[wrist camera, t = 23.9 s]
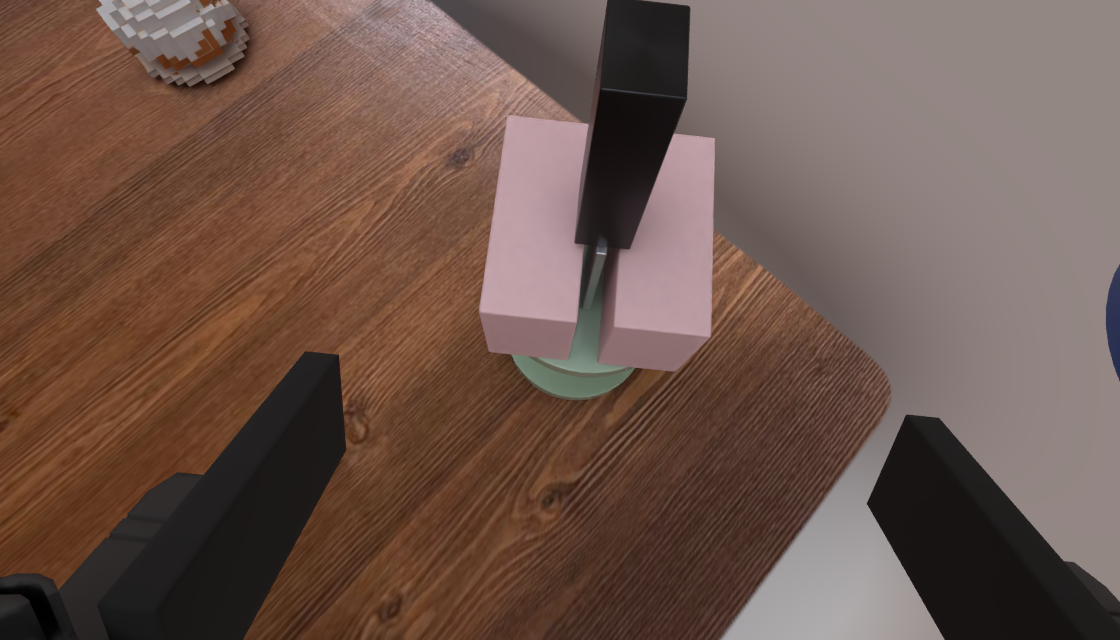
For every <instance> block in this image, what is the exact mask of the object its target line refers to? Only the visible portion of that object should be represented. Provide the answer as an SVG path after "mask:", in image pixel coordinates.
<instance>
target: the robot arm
mask: <svg viewBox="0 0 1120 640" xmlns="http://www.w3.org/2000/svg"><path fill="white" fill-rule="evenodd" d="M345 451H346V443H345V429H344V416H343V403H342V390H341V377H340V364H339V355H335V354H325V353H316V352H306V351H305V352H304V354H303V355H302V356H301V357H300V358H299V360H298V361H297V362H296V363H295V364H294V366H293V367H292V368H291V369H290V371H289V372H288V373H287V374H286V375H285V377H284V378H283V379H282V380H281V382H280V383H279V384H278V385H277V386H276V388H275V389H274V390H273V391H272V392H271V394H270V395H269V396H268V397H267V399H266V400H265V401H264V402H263V403H262V405H261V406H260V407H259V408H258V410H257V411H256V412H255V413H254V414H253V416H252V417H251V418H250V419H249V420H248V422H247V423H246V424H245V425H244V427H243V428H242V429H241V430H240V431H239V433H238V434H237V435H236V436H235V437H234V439H233V440H232V441H231V442H230V444H229V445H228V446H227V447H226V448H225V450H224V451H223V452H222V453H221V455H220V456H219V457H218V458H217V459H216V461H215V462H214V463H213V464H212V465H211V467H210V468H209V469H208V470H207V472H206V473H205V474H204V475H198V474H189V473H179V472H177V473H176V474H174V475H173V476H171V477H170V478H168V479H166V480H165V481H163V482H162V483H160V484H159V485H157V486H155V487H154V488H152V489H151V490H149V491H148V492H147V493H146V494H145V495H144V496H143V497H142V499H141V500H140V501H139V502H138V503H137V504H136V505H135V506H134V507H133V508H132V510H131V511H130V512H129V513H128V516H127V518H126V519H124V518H123V519H122V521H121V522H120V523H119V524H118V525H117V526H116V527H115V528H114V529H113V530H112V532H111V533H110V537H109V538H105V539H104V540H103V541H102V543H101V544H100V545H99V546H98V547H97V548H96V549H95V550H94V551H93V552H92V554H91V555H90V556H89V557H88V558H87V559H86V560H85V561H84V562H83V563H82V565H81V566H80V567H79V568H78V569H77V570H76V571H75V572H74V573H73V574H72V576H71V577H70V578H69V579H68V580H67V581H66V582H65V583H64V584H63V585H62V587H61V588H60V589H59V590H58V589H57V587H56V585H55V583H54V581H53V580H52V579H50V578H48V577H45V576H43V575H41V574H14V575H10V576H5V577H1V578H0V640H243V639H244V637H245V635H246V633H247V631H248V629H249V628H250V626H251V624H252V622H253V620H254V618H255V617H256V615H257V613H258V611H259V609H260V607H261V605H262V604H263V602H264V600H265V598H266V596H267V594H268V593H269V591H270V589H271V587H272V585H273V583H274V582H275V580H276V578H277V576H278V574H279V572H280V571H281V569H282V567H283V565H284V563H285V561H286V560H287V558H288V556H289V554H290V552H291V550H292V549H293V547H294V545H295V543H296V541H297V539H298V537H299V536H300V534H301V532H302V530H303V528H304V526H305V525H306V523H307V521H308V519H309V517H310V515H311V514H312V512H313V510H314V508H315V506H316V504H317V503H318V501H319V499H320V497H321V495H322V493H323V492H324V490H325V488H326V486H327V484H328V482H329V481H330V479H331V477H332V475H333V473H334V471H335V469H336V468H337V466H338V464H339V462H340V460H341V458H342V457H343V455H344V453H345ZM867 505H868V507H869V508H870V510H871V512H872V514H873V515H874V517H875V519H876V521H877V522H878V524H879V526H880V527H881V529H882V531H883V533H884V534H885V536H886V538H887V540H888V541H889V543H890V545H891V546H892V548H893V550H894V552H895V554H896V555H897V557H898V559H899V560H900V562H901V564H902V566H903V567H904V569H905V571H906V573H907V575H908V576H909V578H910V580H911V581H912V583H913V585H914V587H915V589H916V590H917V592H918V594H919V596H920V597H921V599H922V601H923V603H924V604H925V606H926V608H927V610H928V611H929V613H930V615H931V616H932V618H933V620H934V622H935V624H936V625H937V627H938V629H939V630H940V632H941V634H942V636H943V637H944V639H945V640H1120V602H1119V601H1118V600H1117V598H1116V597H1115V596H1114V595H1113V594H1112V593H1111V592H1110V591H1109V590H1108V589H1107V588H1106V586H1104V585H1103V584H1102V583H1100V582H1099V581H1097V580H1096V579H1095V578H1094V577H1092V576H1091V575H1090V574H1089V573H1087V572H1086V571H1085V570H1083V569H1082V568H1081V567H1079V566H1078V565H1077V564H1076V563H1074V562H1066V561H1063V560H1062V559H1061V558H1060V556H1059V555H1058V554H1057V553H1056V552H1055V551H1054V550H1053V548H1052V547H1051V546H1050V545H1049V544H1048V543H1047V542H1046V540H1045V539H1044V538H1043V537H1042V536H1041V535H1040V533H1039V532H1038V531H1037V530H1036V529H1035V528H1034V527H1033V525H1032V524H1031V523H1030V522H1029V521H1028V520H1027V519H1026V517H1025V516H1024V515H1023V514H1022V513H1021V512H1020V511H1019V509H1018V508H1017V507H1016V506H1015V505H1014V504H1013V502H1012V501H1011V500H1010V499H1009V498H1008V497H1007V496H1006V494H1005V493H1004V492H1003V491H1002V490H1001V489H1000V488H999V486H998V485H997V484H996V483H995V482H994V481H993V479H992V478H991V477H990V476H989V475H988V474H987V473H986V471H985V470H984V469H983V468H982V467H981V466H980V465H979V463H978V462H977V461H976V460H975V459H974V458H973V457H972V455H971V454H970V453H969V452H968V451H967V450H966V448H965V447H964V446H963V445H962V444H961V443H960V442H959V441H958V439H957V438H956V437H955V436H954V435H953V434H952V432H951V431H950V430H949V429H948V428H947V427H946V426H945V424H944V423H943V422H942V421H941V420H940V419H939V418H934V417H925V416H915V415H906V416H905V418H904V421H903V423H902V426H901V428H900V430H899V432H898V434H897V437H896V439H895V441H894V443H893V446H892V448H891V450H890V453H889V455H888V457H887V459H886V462H885V464H884V466H883V468H882V471H881V473H880V475H879V477H878V480H877V482H876V485H875V486H874V489H873V491H872V493H871V496H870V498H869V500H868V502H867Z"/></svg>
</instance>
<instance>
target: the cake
mask: <svg viewBox="0 0 1120 640" xmlns="http://www.w3.org/2000/svg"><path fill="white" fill-rule="evenodd" d="M588 125H589V124H583V123H574V122H565V121H556V120H547V119H539V118H530V117H521V116H512V115H508V116H507V121H506V128H505V135H504V142H503V149H502V156H501V163H500V169H499V176H498V183H497V190H496V197H495V204H494V211H493V217H492V224H491V231H490V238H489V245H488V252H487V259H486V265H485V272H484V279H483V286H482V293H481V300H480V307H479V313H480V317H481V322H482V326H483V330H484V334H485V338H486V342H487V346H488V350H489V352H494V353H503V354H512V355H522V356H531V357H541V358H550V359H560V360H568V357H569V353H570V349H571V345H572V341H573V337H574V333H575V329H576V324H577V319H578V308H579V297H580V286H581V275H582V265H583V254H584V245H583V244H575V243H574V239H575V229H576V219H577V208H578V198H579V188H580V178H581V171H582V165H583V158H584V151H585V145H586V138H587V132H588ZM714 157H715V139H714V138H708V137H699V136H690V135H680V134H674V135H673V137H672V140H671V143H670V145H669V148H668V150H667V153H666V156H665V158H664V161H663V164H662V166H661V169H660V172H659V174H658V177H657V179H656V182H655V185H654V187H653V190H652V193H651V195H650V198H649V201H648V203H647V206H646V208H645V211H644V214H643V216H642V219H641V222H640V224H639V227H638V230H637V232H636V235H635V237H634V240H633V243H632V245H631V248H630V249H620V248H611V247H607V254H606V258H605V270H604V283H603V296H602V308H601V321H600V333H599V346H598V359H597V362H598V363H599V364H607V365H617V366H626V367H636V368H645V369H654V370H664V371H673V372H675V371H676V370H677V369H678V368H679V367H681V366H682V365H683V364H684V363H685V362H686V361H687V360H688V359H689V358H690V357H691V356H692V355H693V354H694V353H695V352H696V351H697V350H698V349H699V348H700V347H701V346H702V345H703V344H704V343H705V342H706V341H707V340H708V339H709V338H710V337H711V315H712V264H713V211H714V210H713V209H714V160H715V158H714Z"/></svg>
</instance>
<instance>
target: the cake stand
mask: <svg viewBox="0 0 1120 640" xmlns="http://www.w3.org/2000/svg"><path fill="white" fill-rule="evenodd" d="M587 250H588V245H584V254H583V265H582V275H581V286H580V297H579V308H578V319H577V324H576V329H575V333H574V337H573V341H572V345H571V349H570V353H569V357H568V360H560V359H550V358H541V357H531V356H522V355H512V354H510V355H511V357H512V360H513V362H514V364H515V365H516V367H517V369H518V370H519V372H520V373H521V374H522V375H523V377H524V378H525V379H526V380H527V381H528V382H529V383H531V384H532V385H533V386H534V387H536V388H537V389H539V390H540V391H542V392H544V393H546V394H548V395H551V396H554V397H557V398H560V399H566V400H588V399H592V398H597V397H600V396H602V395H605V394H607V393H609V392H611V391H613V390H614V389H616V388H617V387H618V386H620V385H621V384H622V383H623V382H624V381H625V380H626V379H627V378H628V377H629V376H630V374H631V373H632V372H633V370H634V369H635V367H626V366H617V365H607V364H599V363H598V362H597V359H598V346H599V333H600V321H601V308H602V296H603V283H604V270H605V261H604V264H603V268H602V271H601V275H600V278H599V281H598V285H597V288H596V291H595V295H594V298H593V302H592V305H591V308H590V309H583V308H582V306H583V295H584V284H585V272H586V261H587Z"/></svg>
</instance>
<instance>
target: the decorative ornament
mask: <svg viewBox="0 0 1120 640" xmlns="http://www.w3.org/2000/svg"><path fill="white" fill-rule="evenodd" d="M99 1H100V2H101V4H102V5H103V6H101V7H99V8H97V9H96V10H97V11H98V13H99V14H100V15H101V17H102V18H103V19H104V21H105V22H106V23H107V25H108V26H109V27H110V29H111V30H112V31H113V33H114V34H115V35H116V36H117V37H118V38H119V40H120V41H121V42H122V43H123V44H124V45H125V47H126V48H127V49H128V50H129V51H130V52H131V54H132V55H133V56H134V55H135V56H136V57H137V59H138V60H139V61H140V63H141V64H142V65H143V67H144V68H145V69H146V71H147V72H148V73H149V75H150V76H151V77H152V78H154V77H156V76H157V75H159V74H160V76H161V77H162V78H163V80H164V81H165V82H166V83H167V84H169V83H171V82H173V81H175V82H176V83H177V84H178V86H179V85H181V84H182V83H184V82H186V83H187V84H188V86H189V87H190V86H192V85H194V84H196V83H197V82H199V81H201V80H203V79H204V80H205V82H206V83H207V84H209V83H211V82H212V81H214V80H216V79H218V78H220V77H221V76H223V75H225V74H227V73H229V72H230V71H232V70H234V69H235V68H234V66H233V65H232V63H234V62H235V61H237V60H239V59H241V58H243V57H244V54H243V53H242V50H244V49H246V48H247V46H246V44H245V43H244V42H246V41H248V40H249V39H250V38H249V36H248V35H247V33H246V32H245V31H244V28H246V27H248V26H249V25H248V23H247V22H246V20H245V19H244V18H243V16H242V15H241V14H240V13H239V12H238V10H237V9H236V8H235V7H234V5H233V4H232V3H231V2H230V1H229V2H228V1H227V0H99Z"/></svg>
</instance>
